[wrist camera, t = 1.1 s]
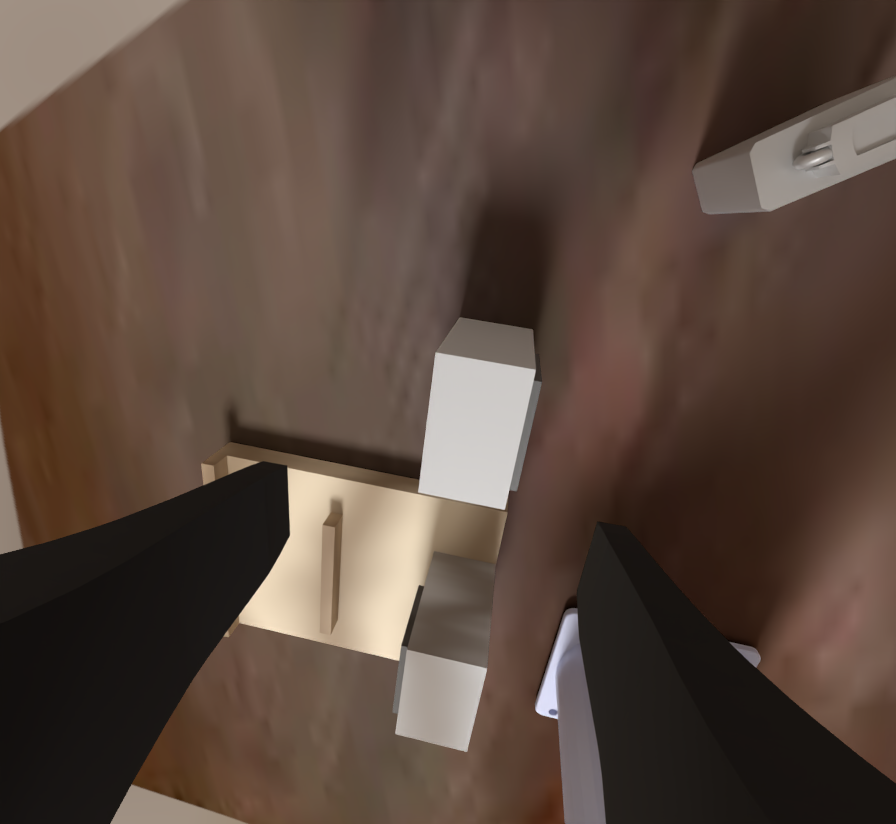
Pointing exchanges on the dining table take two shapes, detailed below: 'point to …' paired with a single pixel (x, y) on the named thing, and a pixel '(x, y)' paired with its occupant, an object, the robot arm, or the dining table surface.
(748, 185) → the lighter
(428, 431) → the white rectangular box
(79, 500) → the dining table surface
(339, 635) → the cream tray
